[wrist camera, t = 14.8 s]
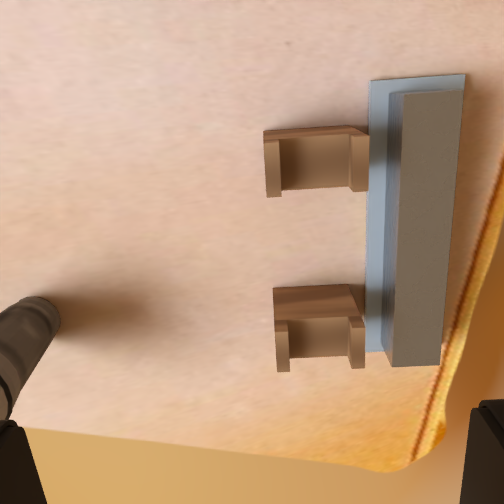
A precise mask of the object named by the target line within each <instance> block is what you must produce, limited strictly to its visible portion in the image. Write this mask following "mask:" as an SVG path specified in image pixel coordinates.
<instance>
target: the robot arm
mask: <svg viewBox="0 0 504 504" xmlns="http://www.w3.org/2000/svg"><path fill="white" fill-rule="evenodd" d="M0 504H47V501H46V498H45V495H44V492H43V488H42V485H41V482H40V479H39V475H38V472H37V469H36V466H35V463H34V459H33V456H32V453H31V449H30V446H29V443H28V440H27V436H26V433H25V431H24V429H23V428H22V427H18V425H17V423H16V422H15V421H14V420H0ZM460 504H504V399H497V400H482V401H481V402H480V404H479V407H478V408H473V409H472V410H471V414H470V422H469V430H468V440H467V448H466V455H465V464H464V472H463V480H462V488H461V496H460Z"/></svg>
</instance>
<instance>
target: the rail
mask: <svg viewBox="0 0 504 504" xmlns="http://www.w3.org/2000/svg"><path fill="white" fill-rule="evenodd" d="M463 94H464V90H448V89H439V90H425V91H412V92H398V93H389V100H388V130H387V160H386V190H385V220H384V251H383V281H382V311H381V341H380V342H381V344H382V346H383V349H384V351H385V353H386V355H387V358H388V360H389V362H390V364H391V366H392V367H408V366H430V365H440V355H441V344H442V332H443V321H444V310H445V298H446V287H447V275H448V264H449V253H450V241H451V230H452V219H453V207H454V196H455V185H456V173H457V162H458V150H459V139H460V128H461V116H462V105H463Z"/></svg>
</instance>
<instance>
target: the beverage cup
mask: <svg viewBox="0 0 504 504" xmlns="http://www.w3.org/2000/svg"><path fill="white" fill-rule="evenodd" d="M59 326H60V316H59V313H58V311H57V310H56V308H55V307H54V306H53V305H52V304H51V303H50V302H49V301H47V300H45V299H43V298H39V297H26V298H24V299H21V300H20V301H19V302H17V303H15V304H14V305H11V306H10V307H8V308H7V309H5V310H4V311H2V312H1V313H0V420H8V419H9V417H10V415H11V413H12V409H13V407H14V405H15V402H16V400H17V398H18V396H19V394H20V391H21V389H22V388H23V386H24V385H25V383H26V381H27V380H28V378H29V377H30V375H31V374H32V372H33V370H34V369H35V367H36V366H37V364H38V362H39V361H40V359H41V358H42V356H43V354H44V353H45V351H46V350H47V348H48V346H49V345H50V343H51V342H52V340H53V338H54V336H55V333H56V332H57V331H58V329H59Z"/></svg>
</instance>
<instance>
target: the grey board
mask: <svg viewBox="0 0 504 504" xmlns="http://www.w3.org/2000/svg"><path fill="white" fill-rule="evenodd" d="M464 85H465V74H458V75H444V76H431V77H417V78H404V79H390V80H377V81H369V112H368V135H369V136H370V143H369V191H367V214H366V266H365V317H364V325H365V327H366V336H365V352H380V351H384V349H383V346H382V344H381V342H380V341H381V311H382V281H383V251H384V220H385V190H386V160H387V130H388V100H389V93H398V92H412V91H425V90H439V89H448V90H464ZM463 96H464V94H463ZM462 107H463V105H462ZM461 119H462V116H461ZM460 130H461V128H460ZM459 141H460V139H459ZM458 152H459V150H458ZM457 164H458V162H457ZM456 175H457V173H456ZM455 186H456V185H455ZM454 197H455V196H454ZM453 208H454V207H453ZM452 220H453V219H452ZM451 231H452V230H451ZM450 242H451V241H450ZM448 265H449V264H448ZM447 276H448V275H447Z"/></svg>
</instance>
